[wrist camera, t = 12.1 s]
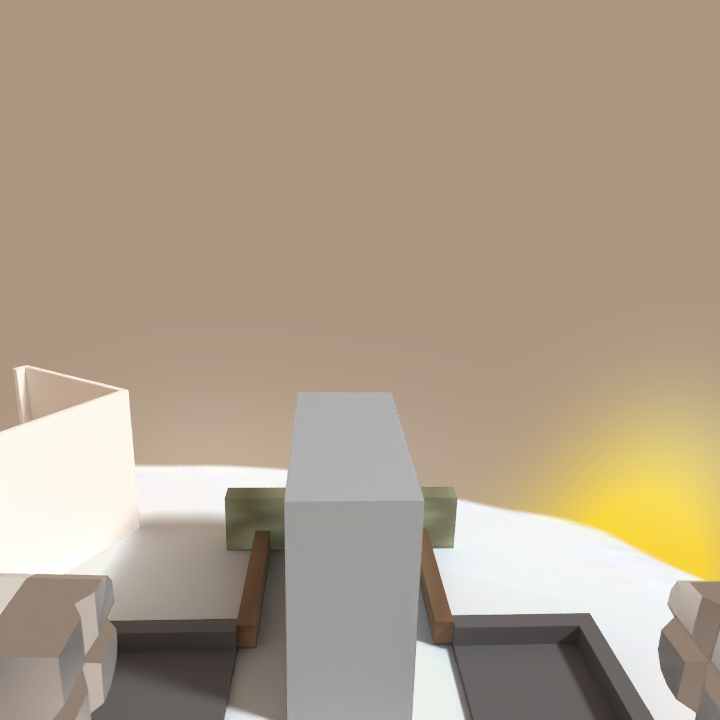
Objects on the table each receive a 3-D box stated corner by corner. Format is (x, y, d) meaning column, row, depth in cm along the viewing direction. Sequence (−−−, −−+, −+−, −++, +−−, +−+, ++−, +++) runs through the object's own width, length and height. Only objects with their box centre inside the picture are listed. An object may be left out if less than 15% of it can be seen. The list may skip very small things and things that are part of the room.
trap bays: (15, 799, 26) (10, 771, 25) (92, 644, 34) (90, 621, 34) (668, 778, 27) (673, 752, 27) (586, 635, 36) (589, 613, 36)
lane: (100, 1028, 19) (87, 937, 18) (230, 537, 45) (228, 487, 44) (610, 1001, 20) (628, 912, 19) (449, 535, 46) (453, 486, 45)
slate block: (287, 725, 30) (284, 501, 26) (299, 555, 43) (298, 392, 40) (411, 722, 30) (424, 500, 27) (385, 554, 44) (391, 392, 40)
